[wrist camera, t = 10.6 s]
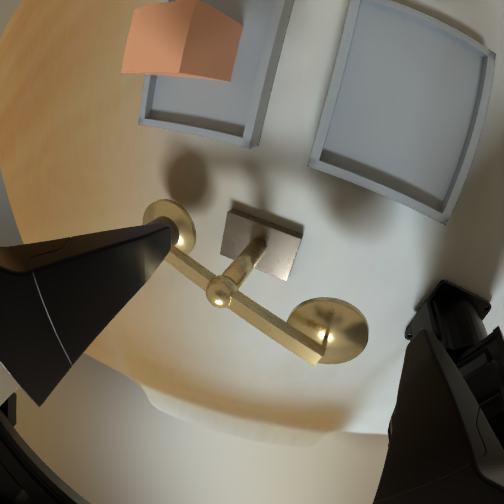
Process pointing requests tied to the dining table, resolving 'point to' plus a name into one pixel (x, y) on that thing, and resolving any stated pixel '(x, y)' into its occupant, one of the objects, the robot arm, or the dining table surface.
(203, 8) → the block
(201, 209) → the dining table surface
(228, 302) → the balance
